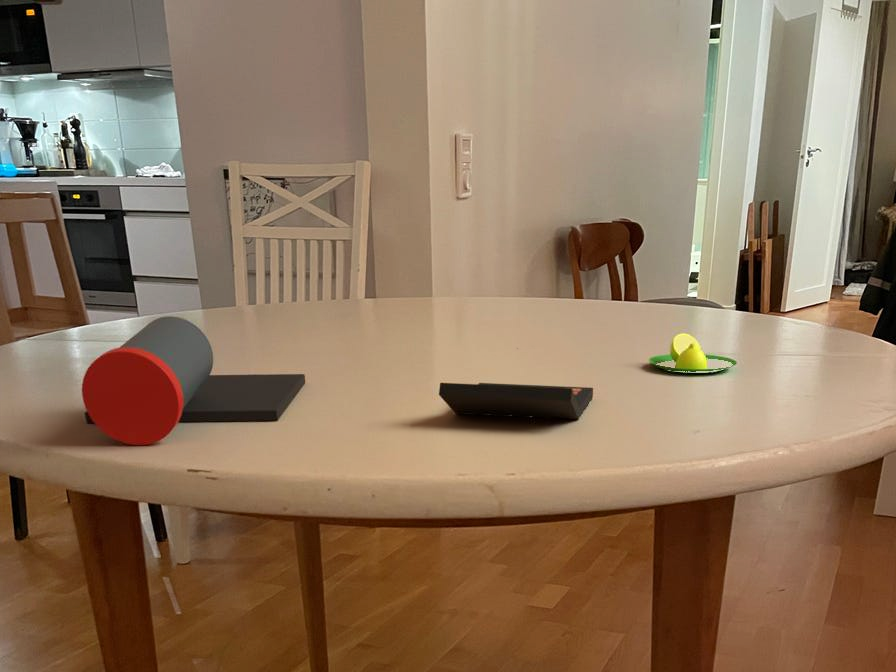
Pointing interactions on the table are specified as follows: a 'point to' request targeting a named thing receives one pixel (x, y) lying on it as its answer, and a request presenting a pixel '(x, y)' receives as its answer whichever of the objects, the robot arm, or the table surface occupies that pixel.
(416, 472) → the table surface
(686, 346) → the lemon
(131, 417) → the tumbler
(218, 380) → the mat
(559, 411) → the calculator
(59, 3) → the robot arm
